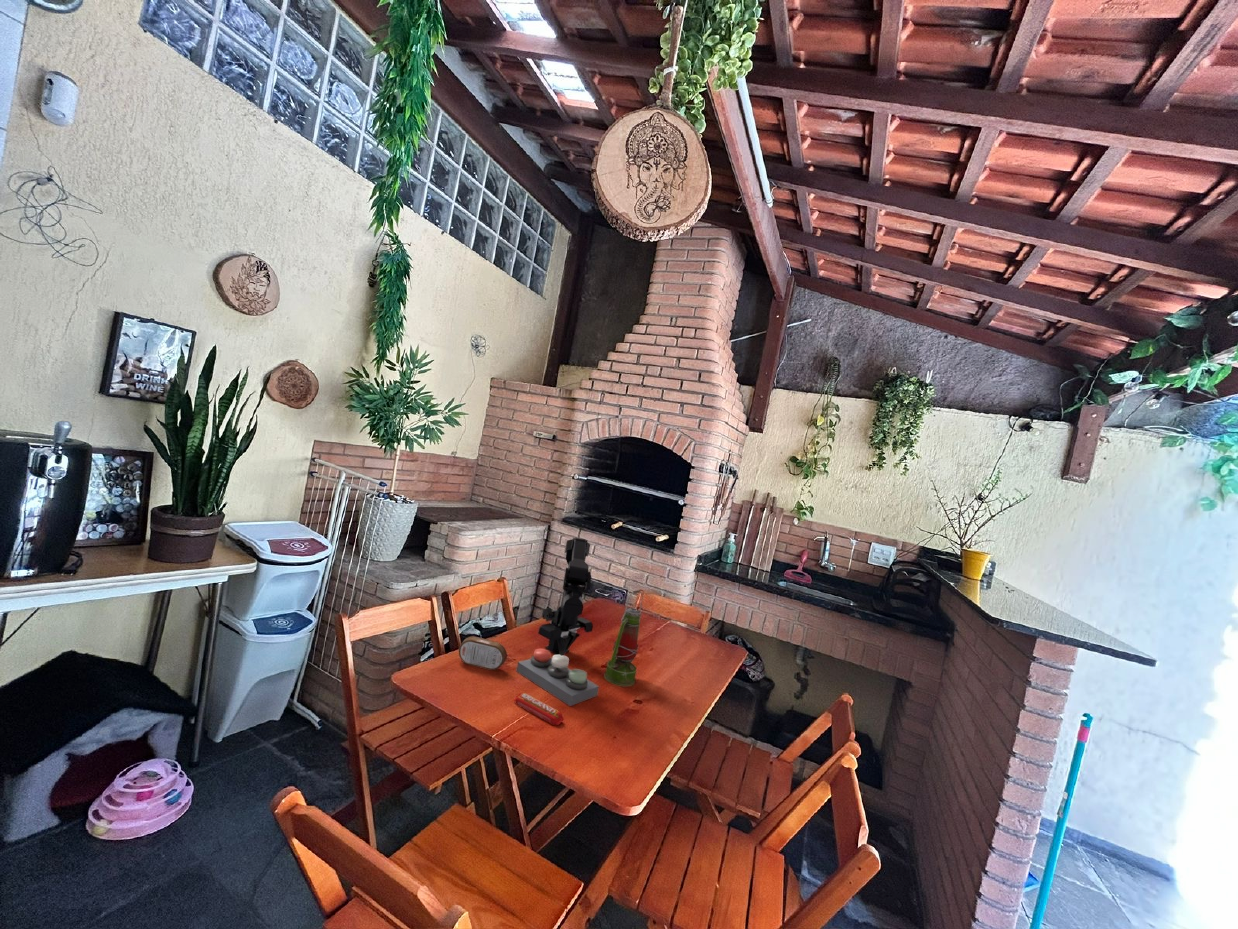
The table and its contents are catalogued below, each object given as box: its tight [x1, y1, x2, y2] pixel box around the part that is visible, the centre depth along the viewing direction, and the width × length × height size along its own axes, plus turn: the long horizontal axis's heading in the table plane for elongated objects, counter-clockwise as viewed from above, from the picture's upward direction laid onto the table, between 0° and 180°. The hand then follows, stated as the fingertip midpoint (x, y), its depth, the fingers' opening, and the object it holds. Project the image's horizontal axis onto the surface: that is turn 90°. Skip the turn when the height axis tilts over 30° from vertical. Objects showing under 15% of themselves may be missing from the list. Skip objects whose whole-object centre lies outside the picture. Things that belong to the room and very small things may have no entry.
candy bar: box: [513, 692, 565, 726], centre depth 143 cm, size 16×4×3 cm, turn 59°
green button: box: [569, 668, 588, 684], centre depth 157 cm, size 5×5×2 cm
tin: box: [458, 636, 508, 671], centre depth 163 cm, size 15×3×8 cm, turn 84°
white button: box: [551, 654, 570, 668], centre depth 162 cm, size 5×5×2 cm
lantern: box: [603, 589, 644, 687], centre depth 174 cm, size 14×11×30 cm
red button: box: [533, 648, 552, 662], centre depth 167 cm, size 5×5×2 cm
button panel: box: [516, 654, 600, 707], centre depth 162 cm, size 12×24×4 cm, turn 51°
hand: (561, 655), depth 162 cm, fingers closed
